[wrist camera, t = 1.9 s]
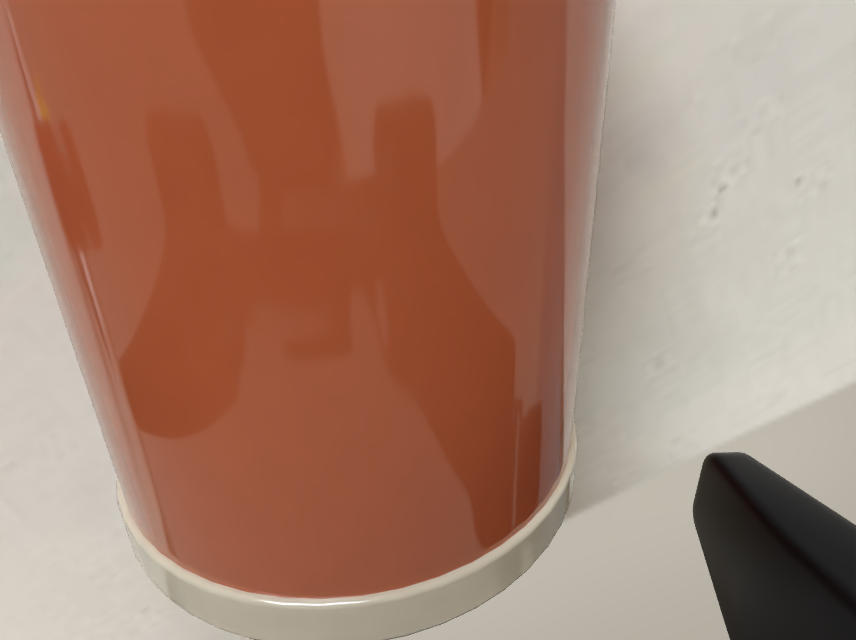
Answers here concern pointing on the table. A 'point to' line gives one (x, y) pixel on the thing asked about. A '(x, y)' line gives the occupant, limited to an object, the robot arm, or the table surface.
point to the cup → (320, 286)
